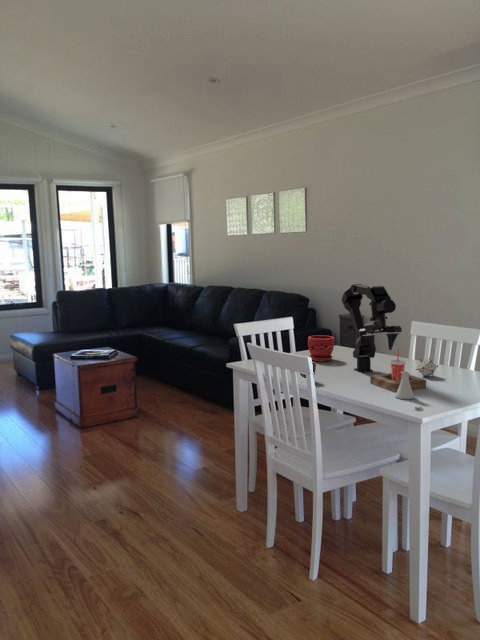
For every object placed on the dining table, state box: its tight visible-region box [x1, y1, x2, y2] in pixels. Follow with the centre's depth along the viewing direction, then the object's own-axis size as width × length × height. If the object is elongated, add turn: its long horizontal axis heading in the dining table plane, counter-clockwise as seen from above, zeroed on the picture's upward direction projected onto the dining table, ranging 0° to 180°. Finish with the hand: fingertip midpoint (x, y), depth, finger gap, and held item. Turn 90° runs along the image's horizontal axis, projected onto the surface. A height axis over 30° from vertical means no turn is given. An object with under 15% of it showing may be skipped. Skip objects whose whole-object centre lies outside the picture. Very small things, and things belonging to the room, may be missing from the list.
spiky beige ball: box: [415, 357, 439, 378], centre depth 255 cm, size 9×8×10 cm
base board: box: [369, 372, 427, 393], centre depth 241 cm, size 16×16×3 cm
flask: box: [395, 370, 415, 400], centre depth 223 cm, size 7×7×10 cm
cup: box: [299, 362, 317, 378], centre depth 251 cm, size 8×7×8 cm
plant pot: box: [307, 334, 335, 362], centre depth 294 cm, size 13×13×12 cm
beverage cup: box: [390, 349, 407, 382], centre depth 240 cm, size 6×6×14 cm
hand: (381, 350), depth 252 cm, fingers open, 9 cm apart
